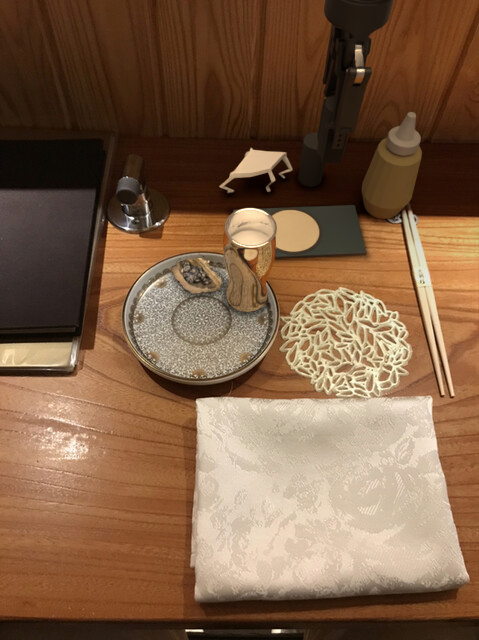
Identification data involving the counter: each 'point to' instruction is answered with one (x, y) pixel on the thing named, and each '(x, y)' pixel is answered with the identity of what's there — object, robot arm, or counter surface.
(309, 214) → the board
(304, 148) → the black post
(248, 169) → the origami figure
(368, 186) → the squeeze bottle
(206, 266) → the pouch of beans
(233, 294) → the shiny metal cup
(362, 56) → the robot arm
